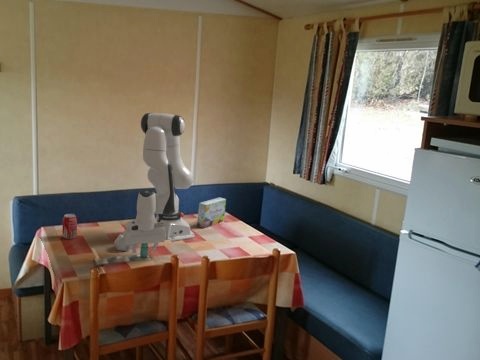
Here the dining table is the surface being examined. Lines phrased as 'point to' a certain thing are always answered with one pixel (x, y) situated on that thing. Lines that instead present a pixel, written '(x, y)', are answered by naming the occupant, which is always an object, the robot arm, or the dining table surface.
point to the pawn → (144, 250)
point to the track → (101, 261)
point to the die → (121, 244)
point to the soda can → (69, 226)
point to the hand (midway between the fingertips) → (143, 251)
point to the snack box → (211, 212)
